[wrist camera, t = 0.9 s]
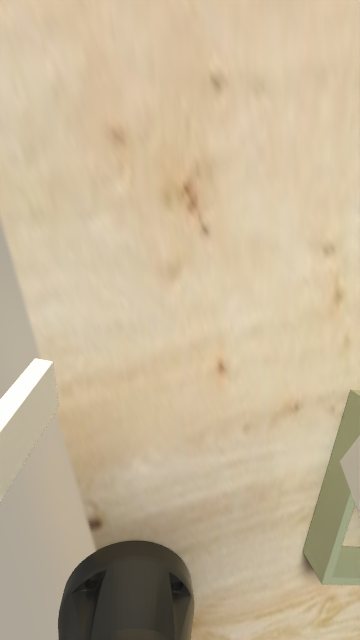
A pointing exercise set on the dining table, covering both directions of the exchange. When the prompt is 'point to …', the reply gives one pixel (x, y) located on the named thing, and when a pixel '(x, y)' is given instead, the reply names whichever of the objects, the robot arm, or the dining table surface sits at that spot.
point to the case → (336, 511)
